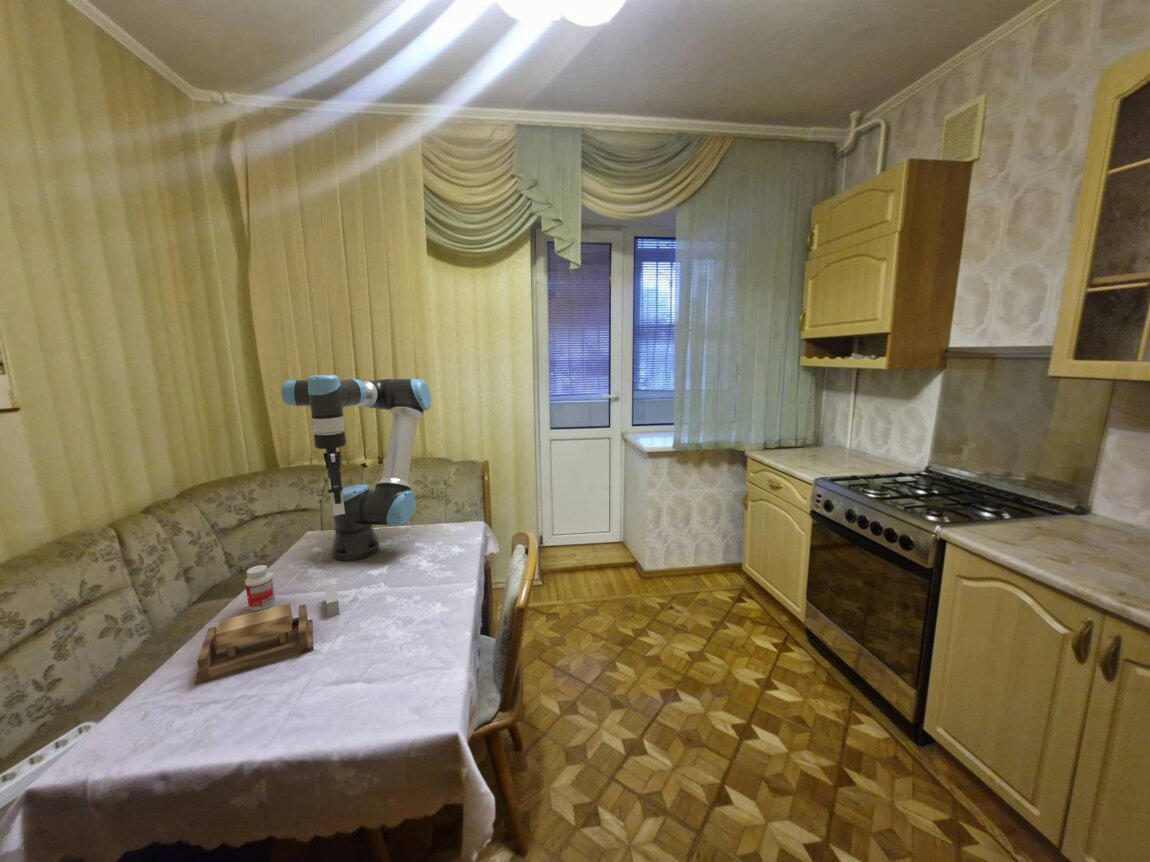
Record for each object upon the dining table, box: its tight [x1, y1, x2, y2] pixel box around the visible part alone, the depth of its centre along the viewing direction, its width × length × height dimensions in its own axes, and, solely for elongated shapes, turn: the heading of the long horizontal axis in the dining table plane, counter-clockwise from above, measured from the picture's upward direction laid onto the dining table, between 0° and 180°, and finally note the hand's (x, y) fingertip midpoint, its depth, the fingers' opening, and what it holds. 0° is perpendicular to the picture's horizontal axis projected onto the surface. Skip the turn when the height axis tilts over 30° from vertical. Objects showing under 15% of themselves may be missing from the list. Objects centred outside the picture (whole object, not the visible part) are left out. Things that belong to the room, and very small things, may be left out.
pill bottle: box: [244, 564, 276, 612], centre depth 127 cm, size 6×6×11 cm
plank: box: [215, 603, 293, 651], centre depth 107 cm, size 14×6×4 cm, turn 120°
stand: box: [324, 583, 341, 618], centre depth 126 cm, size 10×3×4 cm, turn 30°
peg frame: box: [194, 604, 314, 686], centre depth 108 cm, size 13×22×6 cm, turn 120°
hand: (337, 507), depth 128 cm, fingers open, 13 cm apart
